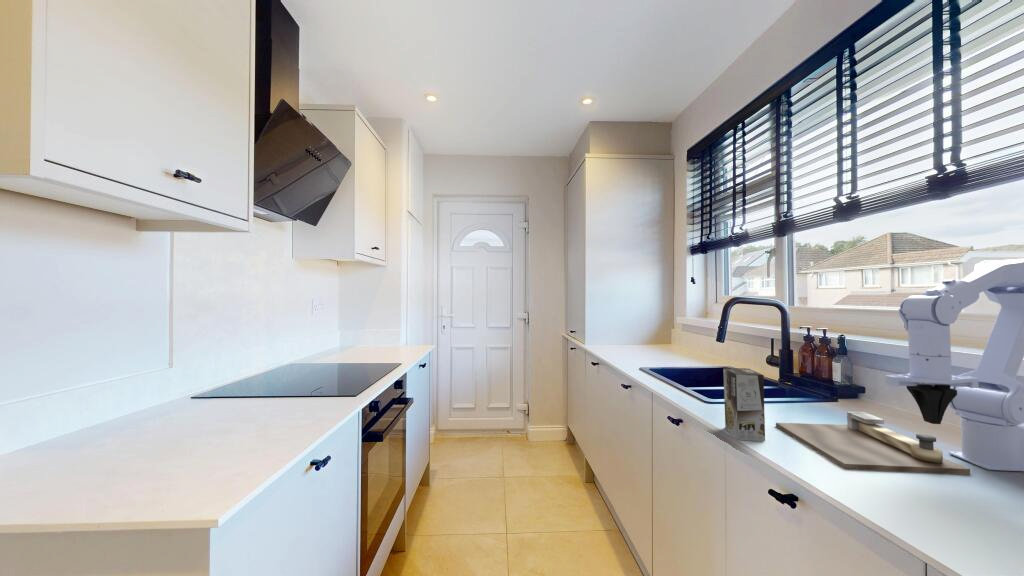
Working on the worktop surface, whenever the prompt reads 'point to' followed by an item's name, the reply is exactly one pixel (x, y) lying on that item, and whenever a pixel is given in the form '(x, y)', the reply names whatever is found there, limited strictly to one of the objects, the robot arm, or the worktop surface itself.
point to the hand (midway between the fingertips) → (932, 422)
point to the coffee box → (744, 404)
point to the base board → (862, 447)
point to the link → (906, 442)
